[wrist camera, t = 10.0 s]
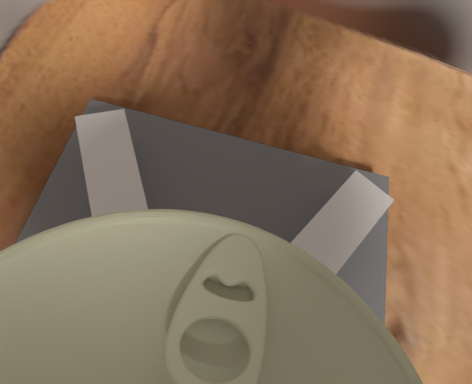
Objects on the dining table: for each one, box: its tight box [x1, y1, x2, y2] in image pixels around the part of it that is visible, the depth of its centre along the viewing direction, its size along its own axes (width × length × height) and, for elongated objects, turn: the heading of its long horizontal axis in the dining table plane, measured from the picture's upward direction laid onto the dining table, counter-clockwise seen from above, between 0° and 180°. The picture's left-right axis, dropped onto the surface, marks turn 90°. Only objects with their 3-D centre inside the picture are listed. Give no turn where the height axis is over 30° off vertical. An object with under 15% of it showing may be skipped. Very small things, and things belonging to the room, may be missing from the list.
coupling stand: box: [16, 99, 394, 324], centre depth 18 cm, size 19×22×4 cm
